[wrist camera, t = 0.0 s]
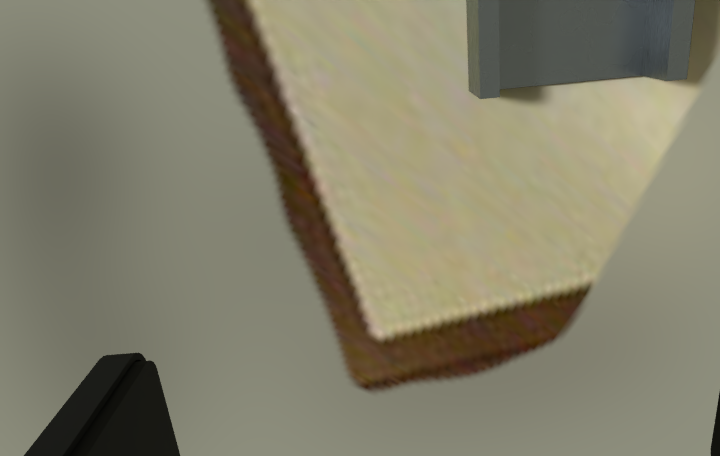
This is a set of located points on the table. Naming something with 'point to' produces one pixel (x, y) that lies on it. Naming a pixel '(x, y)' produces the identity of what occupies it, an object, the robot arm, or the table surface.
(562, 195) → the table surface
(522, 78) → the grey tray
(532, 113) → the table surface
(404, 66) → the table surface
